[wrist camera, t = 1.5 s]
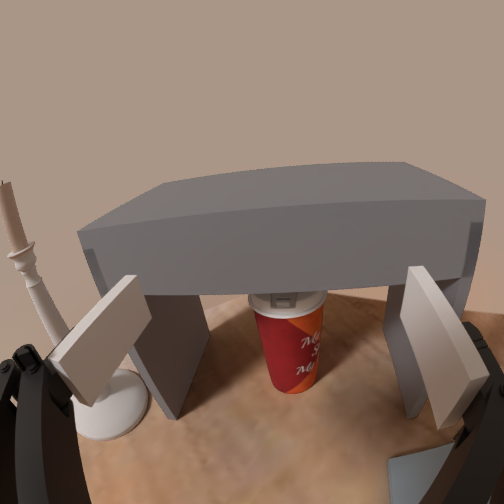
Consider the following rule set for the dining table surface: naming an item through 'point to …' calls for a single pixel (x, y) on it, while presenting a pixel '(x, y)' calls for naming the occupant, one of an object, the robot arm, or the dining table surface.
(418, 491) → the mat
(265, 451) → the dining table surface
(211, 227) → the shelf riser
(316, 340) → the paper cup
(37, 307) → the candlestick
